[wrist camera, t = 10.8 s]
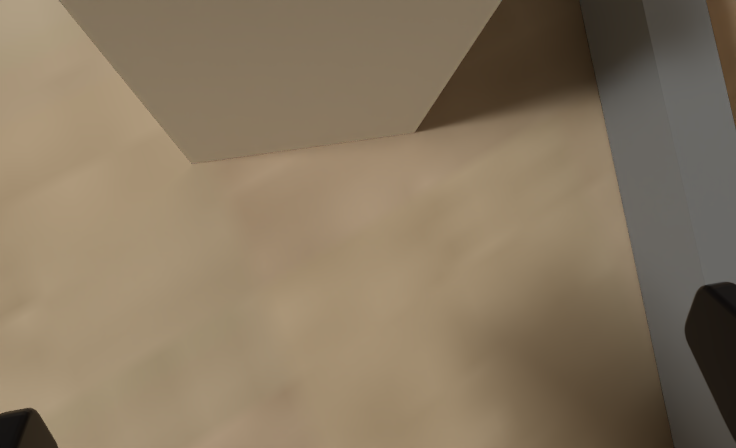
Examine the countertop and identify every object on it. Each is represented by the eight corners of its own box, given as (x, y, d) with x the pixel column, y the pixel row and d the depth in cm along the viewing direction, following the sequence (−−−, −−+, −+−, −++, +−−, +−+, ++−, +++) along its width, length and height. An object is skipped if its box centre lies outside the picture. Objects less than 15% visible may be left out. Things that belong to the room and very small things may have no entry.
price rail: (758, 508, 18) (848, 549, 15) (690, 523, 18) (768, 568, 15) (591, -242, 20) (640, -337, 17) (529, -238, 20) (568, -332, 17)
